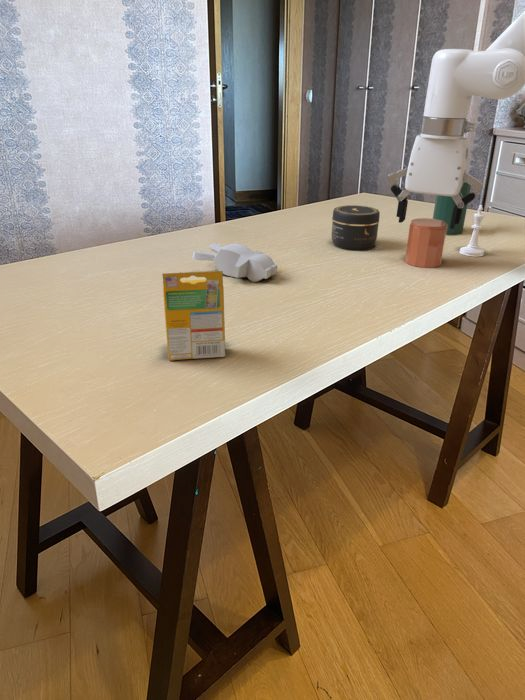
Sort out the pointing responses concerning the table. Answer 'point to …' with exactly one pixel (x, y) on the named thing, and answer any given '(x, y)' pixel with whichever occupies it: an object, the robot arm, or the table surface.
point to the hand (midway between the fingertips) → (426, 224)
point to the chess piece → (474, 237)
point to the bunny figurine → (239, 261)
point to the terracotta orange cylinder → (426, 242)
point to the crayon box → (194, 315)
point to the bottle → (450, 210)
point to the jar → (355, 227)
